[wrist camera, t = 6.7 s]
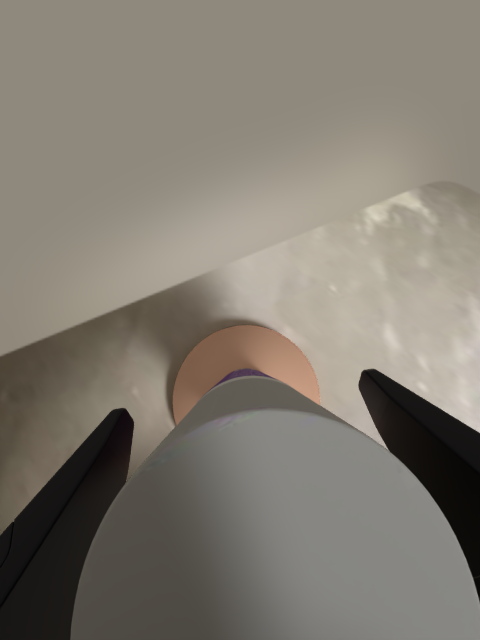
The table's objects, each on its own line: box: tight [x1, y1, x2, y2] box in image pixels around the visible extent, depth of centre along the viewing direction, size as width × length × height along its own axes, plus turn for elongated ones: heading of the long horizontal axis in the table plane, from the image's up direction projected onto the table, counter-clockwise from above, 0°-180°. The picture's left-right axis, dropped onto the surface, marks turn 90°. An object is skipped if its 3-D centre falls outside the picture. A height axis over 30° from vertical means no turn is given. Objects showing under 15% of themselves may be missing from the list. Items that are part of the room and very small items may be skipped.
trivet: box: [173, 325, 320, 426], centre depth 18 cm, size 11×11×1 cm
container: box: [70, 368, 480, 640], centre depth 10 cm, size 5×5×15 cm
